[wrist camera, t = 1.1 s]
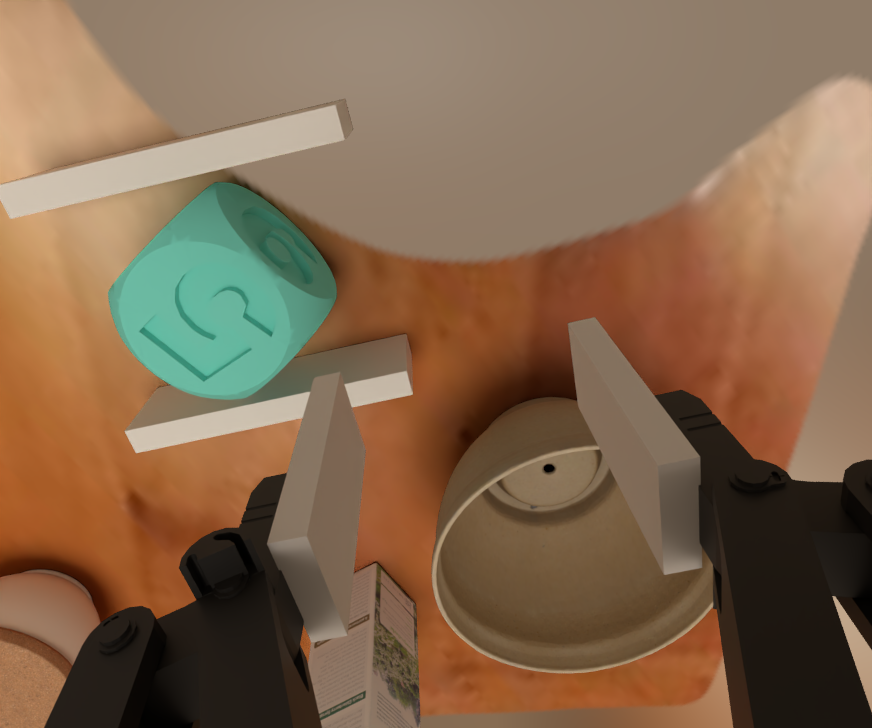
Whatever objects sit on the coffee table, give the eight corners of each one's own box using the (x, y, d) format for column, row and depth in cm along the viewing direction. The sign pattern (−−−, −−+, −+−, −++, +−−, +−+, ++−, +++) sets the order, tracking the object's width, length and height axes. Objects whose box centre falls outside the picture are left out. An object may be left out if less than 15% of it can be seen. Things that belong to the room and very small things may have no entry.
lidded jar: (1, 651, 47) (-85, 777, 39) (-50, 548, 43) (-161, 667, 34) (139, 644, 48) (83, 767, 39) (104, 541, 43) (32, 657, 35)
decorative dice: (145, 267, 34) (78, 320, 27) (236, 167, 32) (189, 197, 25) (255, 357, 37) (220, 427, 30) (345, 272, 35) (330, 325, 28)
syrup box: (315, 591, 46) (280, 797, 33) (378, 558, 45) (368, 758, 32) (358, 633, 48) (342, 842, 35) (420, 602, 47) (427, 806, 34)
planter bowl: (516, 303, 36) (556, 390, 27) (707, 420, 41) (802, 531, 31) (381, 487, 42) (374, 615, 32) (562, 572, 47) (604, 707, 37)
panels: (345, 98, 31) (335, 104, 26) (411, 355, 38) (412, 394, 33) (51, 169, 32) (-8, 186, 27) (167, 407, 38) (136, 453, 34)
